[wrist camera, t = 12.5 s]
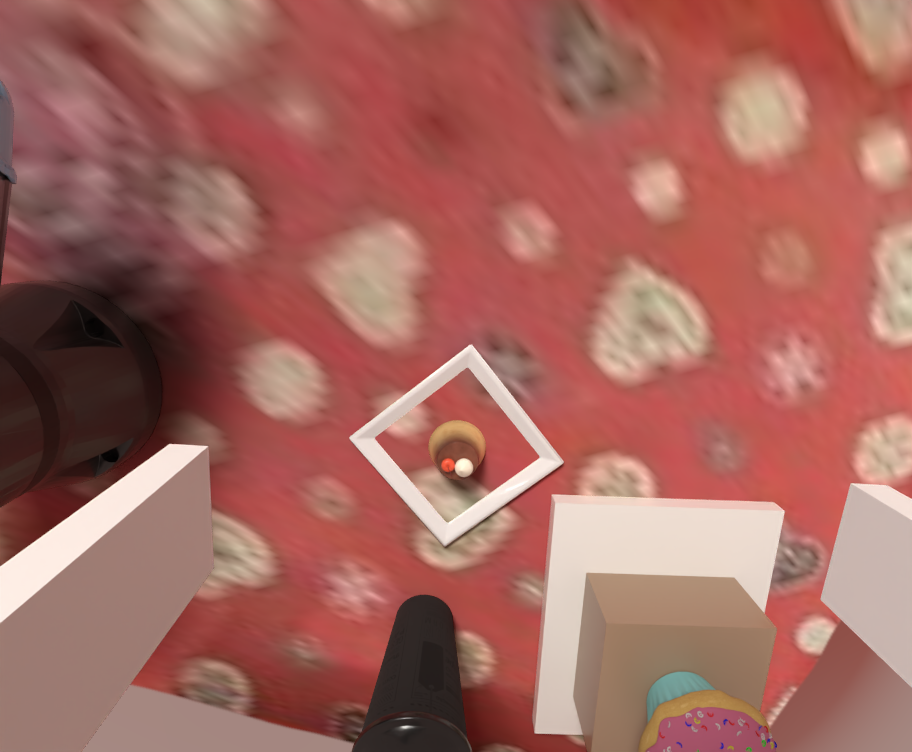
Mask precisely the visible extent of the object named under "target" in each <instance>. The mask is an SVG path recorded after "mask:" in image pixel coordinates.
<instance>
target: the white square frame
mask: <svg viewBox="0 0 912 752" xmlns="http://www.w3.org/2000/svg"><path fill="white" fill-rule="evenodd" d="M465 368H469V369H470V370H471V371H472V372H473V374H474V375H475V376H476V377H477V379H478V380H479V381H480V382H481V384H482V385H483V386H484V387H485V389H486V390H487V391H488V392H489V394H490V395H491V396H492V397H493V399H494V400H495V401H496V402H497V403H498V405H499V406H500V407H501V408H502V410H503V411H504V412H505V413H506V415H507V416H508V417H509V418H510V420H511V421H512V422H513V423H514V425H515V426H516V427H517V428H518V430H519V431H520V432H521V433H522V435H523V436H524V437H525V438H526V440H527V441H528V442H529V443H530V445H531V446H532V447H533V448H534V450H535V451H536V452H537V453H538V455H539V456H540V458H539V459H538V460H536V461H535V462H533V463H532V464H531V465H529V466H528V467H526V468H525V469H524V470H522V471H521V472H519V473H518V474H517V475H515V476H514V477H512V478H511V479H510V480H508V481H507V482H505V483H504V484H502V485H501V486H500V487H498V488H497V489H495V490H494V491H493V492H491V493H490V494H488V495H487V496H486V497H484V498H483V499H481V500H480V501H479V502H477V503H476V504H474V505H473V506H471V507H470V508H469V509H467V510H466V511H464V512H463V513H462V514H460V515H459V516H457V517H456V518H455V519H453V520H452V521H450V522H449V523H447V522H445V521H444V519H443V518H442V517H441V516H440V515H439V514H438V512H437V511H436V510H435V509H434V508H433V507H432V505H431V504H430V503H429V502H428V501H427V500H426V498H425V497H424V496H423V495H422V494H421V493H420V491H419V490H418V489H417V488H416V487H415V486H414V484H413V483H412V482H411V481H410V480H409V479H408V477H407V476H406V475H405V474H404V473H403V472H402V470H401V469H400V468H399V467H398V466H397V465H396V463H395V462H394V461H393V460H392V459H391V458H390V456H389V455H388V454H387V453H386V452H385V451H384V449H383V448H382V447H381V446H380V445H379V444H378V442H377V441H376V440H375V437H376V436H377V435H379V434H380V433H381V432H382V431H384V430H385V429H386V428H388V427H389V426H390V425H392V424H393V423H394V422H396V421H397V420H398V419H400V418H401V417H402V416H404V415H405V414H406V413H407V412H409V411H410V410H411V409H413V408H414V407H415V406H417V405H418V404H419V403H421V402H422V401H423V400H425V399H426V398H427V397H429V396H430V395H431V394H432V393H434V392H435V391H436V390H438V389H439V388H440V387H442V386H443V385H444V384H446V383H447V382H448V381H450V380H451V379H452V378H454V377H455V376H456V375H457V374H459V373H460V372H461V371H463V370H464V369H465ZM350 440H351V442H352V443H353V444H354V445H355V446H356V447H357V448H358V449H359V451H360V452H361V453H362V454H363V455H364V456H365V457H366V459H367V460H368V461H369V462H370V463H371V464H372V465H373V467H374V468H375V469H376V470H377V471H378V472H379V473H380V475H381V476H382V477H383V478H384V479H385V480H386V481H387V482H388V484H389V485H390V486H391V487H392V488H393V489H394V490H395V492H396V493H397V494H398V495H399V496H400V497H401V498H402V500H403V501H404V502H405V503H406V504H407V505H408V506H409V508H410V509H411V510H412V511H413V512H414V513H415V514H416V515H417V517H418V518H419V519H420V520H421V521H422V522H423V523H424V525H425V526H426V527H427V528H428V529H429V530H430V531H431V533H432V534H433V535H434V536H435V537H436V538H437V539H438V541H439V542H440V543H441V544H442V545H443V546H447V545H448V544H450V543H451V542H453V541H454V540H455V539H457V538H458V537H460V536H461V535H463V534H464V533H465V532H467V531H468V530H470V529H471V528H473V527H474V526H475V525H477V524H478V523H480V522H481V521H482V520H484V519H485V518H487V517H488V516H490V515H491V514H492V513H494V512H495V511H497V510H498V509H500V508H501V507H502V506H504V505H505V504H507V503H508V502H509V501H511V500H512V499H514V498H515V497H517V496H518V495H519V494H521V493H522V492H524V491H525V490H526V489H528V488H529V487H531V486H532V485H534V484H535V483H536V482H538V481H539V480H541V479H542V478H544V477H545V476H546V475H548V474H549V473H551V472H552V471H553V470H555V469H556V468H558V467H559V466H561V465H562V464H563V463H564V461H563V460H562V459H561V457H560V456H559V455H558V453H557V452H556V451H555V450H554V448H553V447H552V446H551V445H550V443H549V442H548V441H547V439H546V438H545V437H544V436H543V434H542V433H541V432H540V431H539V429H538V428H537V427H536V425H535V424H534V423H533V422H532V420H531V419H530V418H529V417H528V415H527V414H526V413H525V411H524V410H523V409H522V408H521V406H520V405H519V404H518V403H517V401H516V400H515V399H514V397H513V396H512V395H511V394H510V392H509V391H508V390H507V389H506V387H505V386H504V385H503V383H502V382H501V381H500V380H499V378H498V377H497V376H496V375H495V373H494V372H493V371H492V369H491V368H490V367H489V366H488V364H487V363H486V362H485V361H484V359H483V358H482V357H481V355H480V354H479V353H478V352H477V350H476V349H475V348H474V347H473V345H469V346H468V347H466V348H465V349H464V350H463V351H461V352H460V353H459V354H457V355H456V356H455V357H453V358H452V359H451V360H449V361H448V362H447V363H446V364H444V365H443V366H442V367H440V368H439V369H438V370H436V371H435V372H434V373H432V374H431V375H430V376H429V377H427V378H426V379H425V380H423V381H422V382H421V383H419V384H418V385H417V386H416V387H414V388H413V389H412V390H410V391H409V392H408V393H406V394H405V395H404V396H402V397H401V398H400V399H399V400H397V401H396V402H395V403H393V404H392V405H391V406H389V407H388V408H387V409H385V410H384V411H383V412H382V413H380V414H379V415H378V416H376V417H375V418H374V419H372V420H371V421H370V422H368V423H367V424H366V425H365V426H363V427H362V428H361V429H359V430H358V431H357V432H355V433H354V434H353V435H351V436H350ZM428 449H429V455H430V457H431V459H432V461H433V463H434V464H435V465H436V466H437V468H438V469H439V470H440V472H441V473H442V474H443V475H444V476H446V477H447V478H449V479H453V480H462V479H465V478H467V477H469V476H471V475H472V474H473V473H474V471H475V470H476V469H477V467H478V466H479V464H480V463H481V462H482V460H483V458H484V456H485V452H486V443H485V439H484V437H483V435H482V433H481V432H480V430H479V429H478V428H477V427H475V426H474V425H472V424H471V423H468V422H465V421H460V420H454V421H449V422H446V423H444V424H442V425H440V426H439V427H438V428H437V429H436V430H435V431H434V432H433V434H432V435H431V437H430V440H429V446H428Z"/></svg>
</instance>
